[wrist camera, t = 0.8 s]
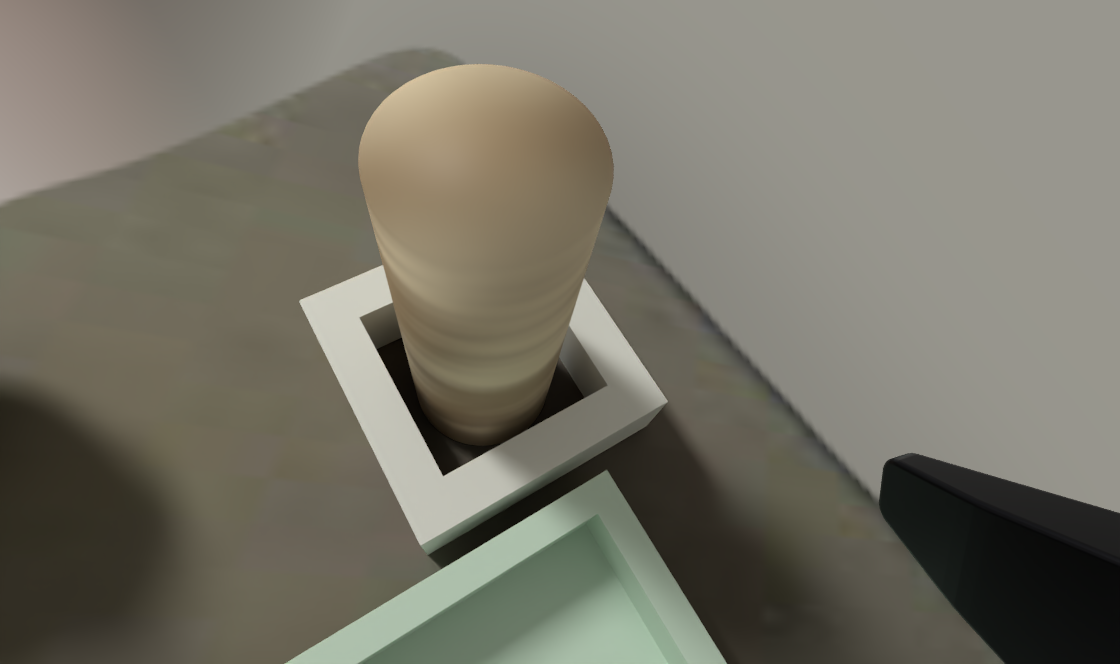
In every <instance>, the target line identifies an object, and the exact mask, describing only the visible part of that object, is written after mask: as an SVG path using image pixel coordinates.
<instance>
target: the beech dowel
mask: <svg viewBox="0 0 1120 664" xmlns="http://www.w3.org/2000/svg"><path fill="white" fill-rule="evenodd" d="M358 165H359V173H360V179H361V183H362V187H363V191H364V194H365V198H366V202H367V206H368V210H369V214H370V217H371V221H372V225H373V229H374V233H375V236H376V240H377V244H378V248H379V252H380V255H381V259H382V263H383V267H384V271H385V274H386V278H387V282H388V286H389V290H390V294H391V297H392V301H393V305H394V309H395V313H396V316H397V320H398V324H399V328H400V332H401V335H402V339H403V343H404V347H405V351H406V354H407V358H408V362H409V366H410V370H411V374H412V377H413V381H414V385H415V389H416V393H417V396H418V400H419V403H420V406H421V408H422V411H423V413H424V414H425V416H426V417H427V419H428V420H429V421H430V423H431V424H432V425H433V426H434V427H435V428H436V429H437V430H438V431H440V432H441V433H442V434H444V435H445V436H447V437H449V438H451V439H453V440H455V441H458V442H461V443H464V444H469V445H476V446H487V445H495V444H499V443H503V442H506V441H508V440H510V439H512V438H513V437H515V436H517V435H519V434H521V433H522V432H524V431H525V430H526V429H527V428H528V427H530V425H531V424H532V423H533V422H534V421H535V420H536V418H537V417H538V415H539V414H540V412H541V410H542V408H543V406H544V403H545V400H546V397H547V393H548V390H549V387H550V384H551V381H552V378H553V374H554V371H555V368H556V365H557V362H558V359H559V355H560V352H561V349H562V346H563V343H564V340H565V336H566V333H567V330H568V327H569V324H570V320H571V317H572V314H573V311H574V308H575V305H576V301H577V298H578V295H579V292H580V289H581V286H582V282H583V279H584V276H585V273H586V270H587V266H588V263H589V260H590V257H591V254H592V251H593V247H594V244H595V241H596V238H597V235H598V232H599V228H600V225H601V222H602V219H603V216H604V213H605V209H606V206H607V203H608V200H609V197H610V193H611V189H612V184H613V170H614V169H613V167H614V166H613V159H612V152H611V149H610V146H609V143H608V140H607V137H606V135H605V133H604V131H603V129H602V127H601V126H600V124H599V123H598V121H597V120H596V118H595V117H594V115H593V114H592V113H591V112H590V111H589V110H588V108H586V106H585V105H584V104H583V103H581V102H580V101H579V100H578V99H577V98H576V97H575V96H574V95H572V94H571V93H569V92H568V91H567V90H565V89H564V88H562V87H561V86H559V85H557V84H555V83H554V82H552V81H550V80H547V79H545V78H543V77H541V76H538V75H536V74H533V73H530V72H527V71H524V70H521V69H516V68H512V67H507V66H499V65H490V64H470V65H459V66H453V67H447V68H443V69H439V70H436V71H432V72H429V73H427V74H424V75H422V76H419V77H417V78H415V79H413V80H411V81H410V82H408V83H406V84H404V85H403V86H401V87H400V88H398V89H397V90H396V91H394V92H393V93H392V94H391V95H390V96H388V97H387V98H386V99H385V100H384V101H383V102H382V103H381V105H380V106H379V107H378V108H377V109H376V111H375V112H374V113H373V115H372V117H371V118H370V120H369V122H368V123H367V125H366V128H365V130H364V133H363V135H362V139H361V143H360V148H359V160H358Z"/></svg>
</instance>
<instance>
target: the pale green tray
mask: <svg viewBox="0 0 1120 664" xmlns="http://www.w3.org/2000/svg"><path fill="white" fill-rule="evenodd" d="M285 664H727V663H726V661H725V660H724V658H723V656H722V655H721V653H720V652H719V650H718V648H717V647H716V645H715V644H714V642H713V640H712V639H711V637H710V635H709V634H708V632H707V631H706V629H705V627H704V626H703V624H702V623H701V621H700V619H699V618H698V616H697V614H696V613H695V611H694V610H693V608H692V606H691V605H690V603H689V602H688V600H687V598H686V597H685V595H684V593H683V592H682V590H681V589H680V587H679V585H678V584H677V582H676V580H675V579H674V577H673V576H672V574H671V572H670V571H669V569H668V568H667V566H666V564H665V563H664V561H663V559H662V558H661V556H660V555H659V553H658V551H657V550H656V548H655V547H654V545H653V543H652V542H651V540H650V538H649V537H648V535H647V534H646V532H645V530H644V529H643V527H642V526H641V524H640V522H639V521H638V519H637V517H636V516H635V514H634V513H633V511H632V509H631V508H630V506H629V505H628V503H627V501H626V500H625V498H624V496H623V495H622V493H621V492H620V490H619V488H618V487H617V485H616V484H615V482H614V480H613V479H612V477H611V475H610V474H609V472H608V471H607V470H606V471H604V472H602V473H601V474H599V475H597V476H596V477H594V478H592V479H591V480H589V481H587V482H586V483H584V484H583V485H581V486H579V487H578V488H576V489H574V490H573V491H571V492H569V493H568V494H566V495H564V496H563V497H561V498H559V499H558V500H556V501H554V502H553V503H551V504H549V505H548V506H546V507H544V508H543V509H541V510H539V511H538V512H536V513H534V514H533V515H531V516H529V517H528V518H526V519H524V520H523V521H521V522H519V523H518V524H516V525H514V526H513V527H511V528H509V529H508V530H506V531H504V532H503V533H501V534H499V535H498V536H496V537H494V538H493V539H491V540H489V541H488V542H486V543H484V544H483V545H481V546H479V547H478V548H476V549H475V550H473V551H471V552H470V553H468V554H466V555H465V556H463V557H461V558H460V559H458V560H456V561H455V562H453V563H451V564H450V565H448V566H446V567H445V568H443V569H441V570H440V571H438V572H436V573H435V574H433V575H431V576H430V577H428V578H426V579H425V580H423V581H421V582H420V583H418V584H416V585H415V586H413V587H411V588H410V589H408V590H406V591H405V592H403V593H401V594H400V595H398V596H396V597H395V598H393V599H391V600H390V601H388V602H386V603H385V604H383V605H381V606H380V607H378V608H376V609H375V610H373V611H371V612H370V613H368V614H366V615H365V616H363V617H362V618H360V619H358V620H357V621H355V622H353V623H352V624H350V625H348V626H347V627H345V628H343V629H342V630H340V631H338V632H337V633H335V634H333V635H332V636H330V637H328V638H327V639H325V640H323V641H322V642H320V643H318V644H317V645H315V646H313V647H312V648H310V649H308V650H307V651H305V652H303V653H302V654H300V655H298V656H297V657H295V658H293V659H292V660H290V661H288V662H287V663H285Z"/></svg>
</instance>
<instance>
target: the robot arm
mask: <svg viewBox="0 0 1120 664" xmlns="http://www.w3.org/2000/svg"><path fill="white" fill-rule="evenodd" d="M879 506H880V510H881V513H882V515H883V517H884V519H885V520H886V522H887V523H888V524H889V526H890V527H891V528H892V530H893V531H894V532H895V533H896V535H897V536H898V537H899V539H900V540H901V541H902V542H903V544H904V545H905V546H906V548H907V549H908V550H909V551H910V553H911V554H912V555H913V557H914V558H915V559H916V560H917V562H918V563H919V564H920V566H921V567H922V568H923V569H924V571H925V572H926V573H927V575H928V576H929V577H930V579H931V580H932V581H933V582H934V584H935V585H936V586H937V588H938V589H939V590H940V591H941V593H942V594H943V595H944V596H945V598H946V599H947V600H948V601H949V602H950V604H951V605H952V606H953V607H954V609H955V610H956V611H957V612H958V613H959V614H960V615H961V616H962V618H963V619H964V620H965V621H966V622H967V623H968V624H969V625H970V626H971V627H972V629H973V630H974V631H975V632H976V633H977V634H978V635H979V636H980V637H981V638H982V639H983V640H984V642H985V643H986V644H987V645H988V646H989V647H990V648H991V649H992V650H993V651H994V652H995V653H996V655H997V656H998V657H999V658H1000V659H1001V660H1002V661H1003V662H1004V663H1005V664H1120V513H1117V512H1114V511H1111V510H1107V509H1104V508H1100V507H1097V506H1093V505H1090V504H1087V503H1083V502H1080V501H1077V500H1073V499H1069V498H1066V497H1063V496H1059V495H1056V494H1052V493H1049V492H1046V491H1042V490H1039V489H1035V488H1032V487H1029V486H1025V485H1021V484H1018V483H1015V482H1011V481H1008V480H1005V479H1001V478H998V477H994V476H991V475H988V474H984V473H981V472H977V471H974V470H971V469H967V468H964V467H960V466H957V465H953V464H950V463H946V462H943V461H940V460H936V459H933V458H929V457H926V456H923V455H919V454H915V453H909V454H905V455H901V456H898V457H895V458H892V459H889V460H888V461H887V462H886V463H885V465H884V468H883V474H882V482H881V490H880V498H879Z"/></svg>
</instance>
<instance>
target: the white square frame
mask: <svg viewBox="0 0 1120 664" xmlns="http://www.w3.org/2000/svg"><path fill="white" fill-rule="evenodd" d="M299 302H300V304H301V306H302V308H303V310H304V312H305V314H306V316H307V318H308V320H309V322H310V324H311V326H312V328H313V330H314V332H315V334H316V336H317V338H318V340H319V342H320V344H321V346H322V348H323V350H324V352H325V354H326V356H327V359H328V361H329V363H330V365H331V367H332V369H333V371H334V373H335V375H336V377H337V379H338V381H339V383H340V385H341V387H342V389H343V391H344V393H345V395H346V397H347V399H348V401H349V403H350V405H351V407H352V409H353V411H354V413H355V415H356V417H357V419H358V421H359V423H360V425H361V427H362V429H363V431H364V433H365V435H366V437H367V439H368V441H369V443H370V445H371V447H372V449H373V451H374V453H375V455H376V457H377V459H378V461H379V463H380V465H381V467H382V469H383V471H384V473H385V475H386V477H387V479H388V481H389V483H390V485H391V487H392V489H393V491H394V493H395V495H396V497H397V499H398V501H399V503H400V505H401V507H402V509H403V511H404V513H405V515H406V517H407V519H408V521H409V524H410V526H411V528H412V530H413V532H414V534H415V536H416V538H417V540H418V542H419V544H420V546H421V547H422V548H423V550H424V551H425V552H426V554H427V555H429V554H431V553H432V552H434V551H436V550H437V549H439V548H441V547H442V546H444V545H446V544H448V543H449V542H451V541H453V540H454V539H456V538H458V537H459V536H461V535H463V534H464V533H466V532H468V531H470V530H471V529H473V528H475V527H476V526H478V525H480V524H481V523H483V522H485V521H486V520H488V519H490V518H492V517H493V516H495V515H497V514H498V513H500V512H502V511H503V510H505V509H507V508H509V507H510V506H512V505H514V504H515V503H517V502H519V501H520V500H522V499H524V498H525V497H527V496H529V495H531V494H532V493H534V492H536V491H537V490H539V489H541V488H542V487H544V486H546V485H548V484H549V483H551V482H553V481H554V480H556V479H558V478H559V477H561V476H563V475H564V474H566V473H568V472H570V471H571V470H573V469H575V468H576V467H578V466H580V465H581V464H583V463H585V462H587V461H588V460H590V459H592V458H593V457H595V456H597V455H598V454H600V453H602V452H603V451H605V450H607V449H609V448H610V447H612V446H614V445H615V444H617V443H619V442H620V441H622V440H624V439H626V438H627V437H629V436H631V435H632V434H634V433H636V432H637V431H639V430H641V429H642V428H644V427H646V426H647V425H648V424H649V423H650V422H651V420H652V419H653V418H654V417H655V416H656V415H657V414H658V412H659V411H660V410H661V409H662V408H663V407H664V406H665V404H666V403H667V402H668V401H667V400H666V398H665V397H664V395H663V394H662V392H661V391H660V389H659V388H658V386H657V385H656V383H655V382H654V380H653V379H652V378H651V376H650V375H649V373H648V372H647V370H646V369H645V367H644V366H643V364H642V363H641V361H640V360H639V358H638V357H637V355H636V354H635V352H634V351H633V349H632V348H631V346H630V345H629V344H628V342H627V341H626V339H625V338H624V336H623V335H622V333H621V332H620V330H619V329H618V327H617V326H616V324H615V323H614V321H613V320H612V318H611V317H610V315H609V314H608V313H607V311H606V310H605V308H604V307H603V305H602V304H601V302H600V301H599V299H598V298H597V296H596V295H595V293H594V292H593V290H592V289H591V287H590V286H589V284H588V283H587V282H586V280H585V279H583V282H582V286H581V289H580V292H579V295H578V298H577V301H576V305H575V308H574V311H573V314H572V317H571V320H570V324H569V327H568V330H567V333H566V336H565V340H564V343H563V346H562V349H561V352H560V355H559V358H560V360H561V361H562V363H563V364H564V366H565V368H566V369H567V371H568V372H569V374H570V376H571V377H572V379H573V380H574V382H575V383H576V385H577V387H578V388H579V390H580V391H581V393H582V395H583V396H584V399H582V400H580V401H579V402H577V403H575V404H573V405H571V406H569V407H568V408H566V409H564V410H562V411H560V412H559V413H557V414H555V415H553V416H551V417H550V418H548V419H546V420H544V421H542V422H541V423H539V424H537V425H535V426H533V427H531V428H530V429H528V430H526V431H524V432H522V433H521V434H519V435H517V436H515V437H513V438H512V439H510V440H508V441H506V442H504V443H502V444H501V445H499V446H497V447H495V448H493V449H492V450H490V451H488V452H486V453H484V454H483V455H481V456H479V457H477V458H475V459H474V460H472V461H470V462H468V463H466V464H464V465H463V466H461V467H459V468H457V469H455V470H454V471H452V472H450V473H448V474H446V475H445V476H443V475H442V473H441V471H440V469H439V468H438V466H437V464H436V462H435V460H434V458H433V456H432V454H431V452H430V450H429V449H428V447H427V445H426V443H425V441H424V439H423V437H422V435H421V433H420V432H419V430H418V428H417V426H416V424H415V422H414V420H413V418H412V416H411V414H410V413H409V411H408V409H407V407H406V405H405V403H404V401H403V399H402V397H401V396H400V394H399V392H398V390H397V388H396V386H395V384H394V382H393V380H392V379H391V377H390V375H389V373H388V371H387V369H386V367H385V365H384V363H383V361H382V360H381V358H380V356H379V354H378V352H377V350H376V349H378V348H380V347H383V346H385V345H387V344H389V343H391V342H393V341H395V340H398V339H400V338H402V335H401V332H400V328H399V324H398V320H397V316H396V313H395V309H394V305H393V301H392V297H391V294H390V290H389V286H388V282H387V278H386V274H385V271H384V267H383V265H382V266H380V267H377V268H375V269H373V270H370V271H368V272H365V273H363V274H361V275H358V276H356V277H354V278H351V279H349V280H347V281H344V282H342V283H340V284H337V285H335V286H333V287H330V288H328V289H325V290H323V291H321V292H318V293H316V294H314V295H311V296H309V297H307V298H304V299H302V300H300V301H299Z"/></svg>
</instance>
